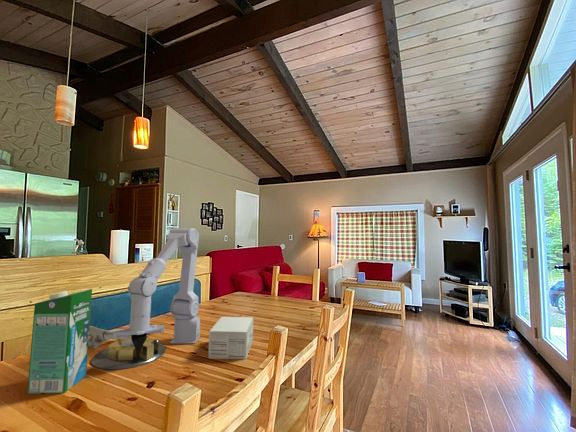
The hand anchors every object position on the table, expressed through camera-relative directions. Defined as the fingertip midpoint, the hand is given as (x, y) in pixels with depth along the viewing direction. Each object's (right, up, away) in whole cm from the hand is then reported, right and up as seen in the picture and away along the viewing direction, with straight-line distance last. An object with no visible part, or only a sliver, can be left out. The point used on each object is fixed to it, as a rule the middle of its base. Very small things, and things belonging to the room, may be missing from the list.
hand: (137, 358), depth 89 cm
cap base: (-6, -2, +6) cm, 9 cm away
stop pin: (+3, -2, +6) cm, 7 cm away
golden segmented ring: (-4, -1, +6) cm, 7 cm away
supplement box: (+28, -4, +13) cm, 31 cm away
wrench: (-16, -3, +19) cm, 25 cm away
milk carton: (-14, -1, -13) cm, 20 cm away
